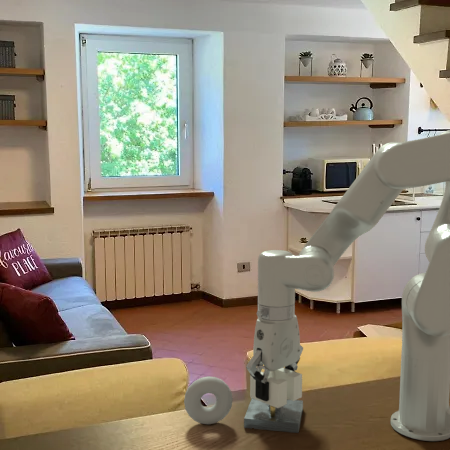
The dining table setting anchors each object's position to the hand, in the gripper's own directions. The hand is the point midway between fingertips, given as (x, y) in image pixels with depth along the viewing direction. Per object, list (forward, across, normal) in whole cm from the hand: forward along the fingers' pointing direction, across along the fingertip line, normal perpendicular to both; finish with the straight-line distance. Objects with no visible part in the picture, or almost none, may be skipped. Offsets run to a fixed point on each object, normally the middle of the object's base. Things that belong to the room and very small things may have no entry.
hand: (275, 392), depth 131 cm
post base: (+6, 0, 0) cm, 6 cm away
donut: (+6, -12, +8) cm, 15 cm away
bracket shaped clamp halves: (+1, 0, 0) cm, 1 cm away
